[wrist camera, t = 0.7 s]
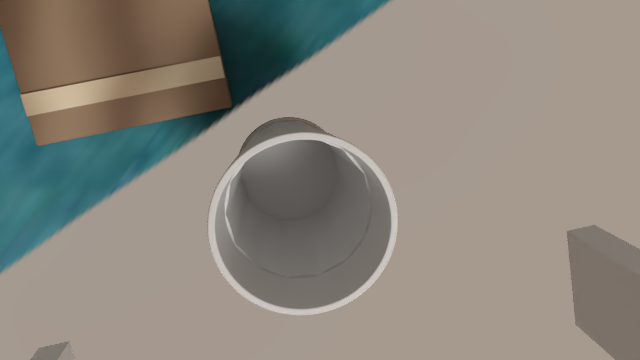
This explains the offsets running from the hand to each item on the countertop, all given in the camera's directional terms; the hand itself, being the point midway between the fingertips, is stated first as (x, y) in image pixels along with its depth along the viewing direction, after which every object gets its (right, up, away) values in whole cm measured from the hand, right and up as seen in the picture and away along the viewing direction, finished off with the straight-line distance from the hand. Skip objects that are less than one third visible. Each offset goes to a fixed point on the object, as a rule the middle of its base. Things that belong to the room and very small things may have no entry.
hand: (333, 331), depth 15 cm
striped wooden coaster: (-12, +13, +18) cm, 25 cm away
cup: (-2, +5, +21) cm, 22 cm away
